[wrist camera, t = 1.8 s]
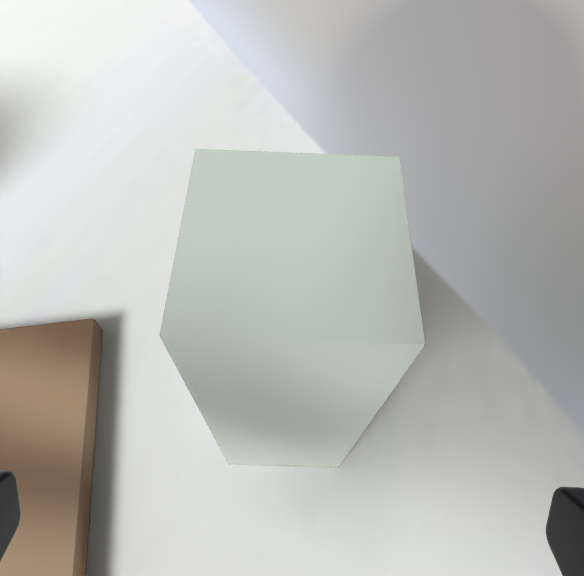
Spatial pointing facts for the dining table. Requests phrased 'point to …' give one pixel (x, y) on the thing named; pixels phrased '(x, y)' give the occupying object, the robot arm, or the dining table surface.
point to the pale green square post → (292, 300)
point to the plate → (49, 442)
